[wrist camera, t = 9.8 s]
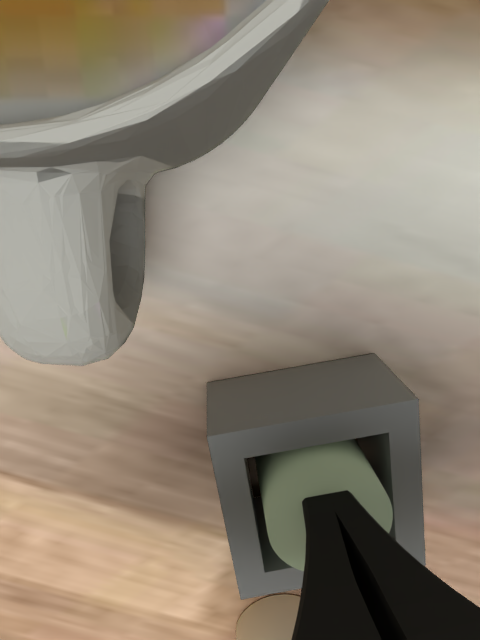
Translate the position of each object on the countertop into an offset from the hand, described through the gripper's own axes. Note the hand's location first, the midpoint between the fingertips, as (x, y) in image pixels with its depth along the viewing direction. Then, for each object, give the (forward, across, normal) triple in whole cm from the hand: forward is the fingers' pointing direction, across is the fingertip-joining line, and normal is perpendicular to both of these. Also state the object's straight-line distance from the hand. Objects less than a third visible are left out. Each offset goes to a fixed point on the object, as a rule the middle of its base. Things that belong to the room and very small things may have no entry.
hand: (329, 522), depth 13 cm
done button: (+4, 0, 0) cm, 4 cm away
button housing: (+4, 0, 0) cm, 4 cm away
